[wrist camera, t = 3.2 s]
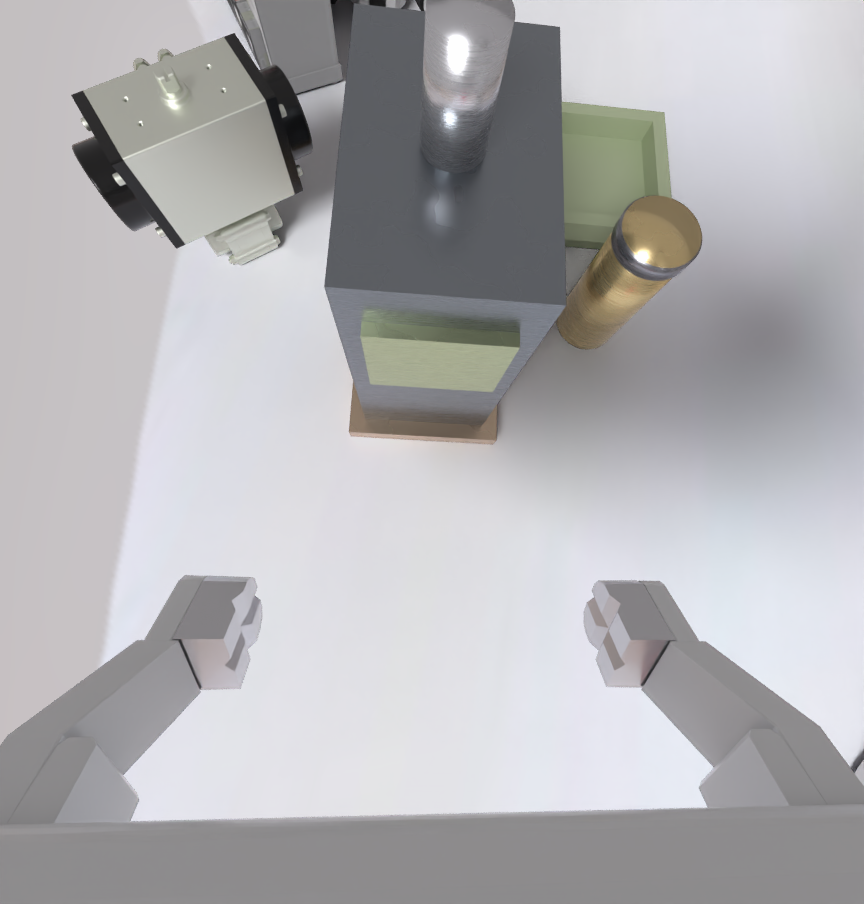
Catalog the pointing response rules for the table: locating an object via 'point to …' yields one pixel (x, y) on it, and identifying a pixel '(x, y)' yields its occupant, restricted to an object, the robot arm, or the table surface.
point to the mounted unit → (446, 214)
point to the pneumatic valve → (197, 147)
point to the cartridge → (630, 269)
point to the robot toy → (387, 3)
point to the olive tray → (609, 167)
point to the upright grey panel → (292, 39)
